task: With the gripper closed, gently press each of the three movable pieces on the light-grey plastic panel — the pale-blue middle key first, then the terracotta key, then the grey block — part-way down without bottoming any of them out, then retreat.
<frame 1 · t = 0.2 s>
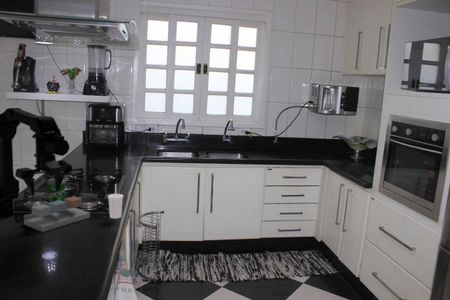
hand: (45, 193, 147), 14 cm above the worktop, fingers open, 9 cm apart
blue key: (57, 206, 158), point 6 cm above the worktop, slide at 0.0 cm
beverage cup: (115, 216, 167), on the worktop
grey block: (41, 210, 152), point 6 cm above the worktop, slide at 0.0 cm
panel: (58, 220, 159), on the worktop
soda can: (56, 205, 177), on the worktop
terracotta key: (73, 202, 164), point 6 cm above the worktop, slide at 0.0 cm
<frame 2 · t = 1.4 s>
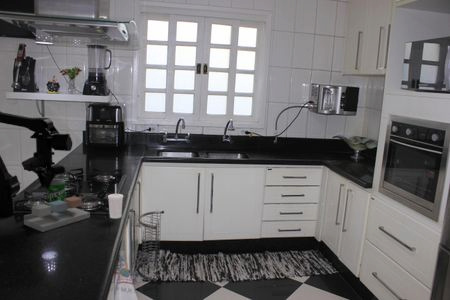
hand: (45, 187, 161), 12 cm above the worktop, fingers closed
nothing on the worktop moved.
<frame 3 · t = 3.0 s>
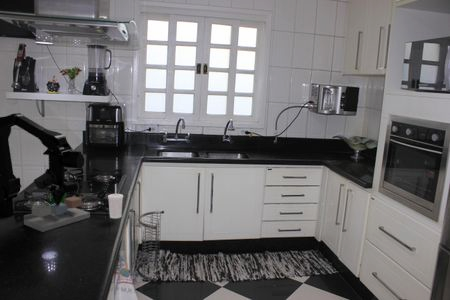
hand: (57, 204, 158), 7 cm above the worktop, fingers closed, pressing on blue key
blue key: (57, 208, 158), point 5 cm above the worktop, slide at 0.9 cm, touching gripper
everything else where it was.
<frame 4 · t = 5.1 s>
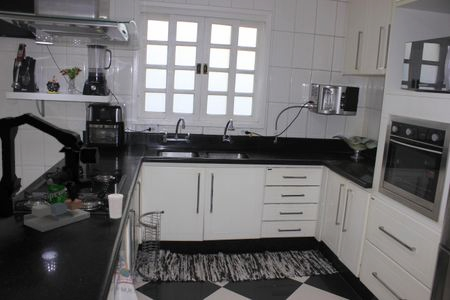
hand: (72, 200, 163), 7 cm above the worktop, fingers closed, pressing on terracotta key
blue key: (57, 208, 158), point 5 cm above the worktop, slide at 1.0 cm
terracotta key: (73, 204, 164), point 5 cm above the worktop, slide at 0.9 cm, touching gripper
everything else where it was.
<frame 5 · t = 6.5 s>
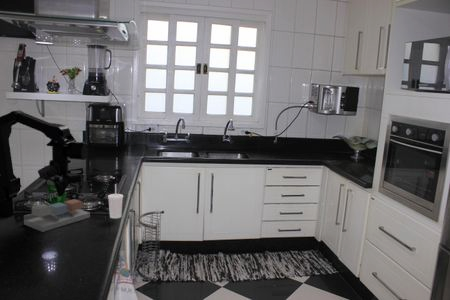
hand: (60, 196, 158), 10 cm above the worktop, fingers closed
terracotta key: (73, 205, 164), point 5 cm above the worktop, slide at 1.2 cm
everything else where it was.
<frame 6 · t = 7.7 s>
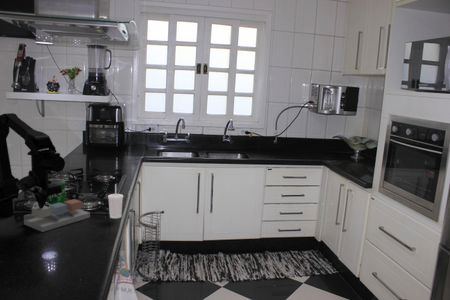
hand: (41, 207, 152), 7 cm above the worktop, fingers closed, pressing on grey block
grey block: (41, 211, 152), point 6 cm above the worktop, slide at 0.5 cm, touching gripper
everything else where it was.
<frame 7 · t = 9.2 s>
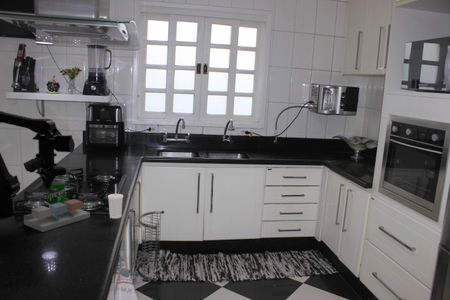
hand: (47, 189, 161), 11 cm above the worktop, fingers closed
grey block: (41, 212, 152), point 5 cm above the worktop, slide at 0.8 cm
everything else where it was.
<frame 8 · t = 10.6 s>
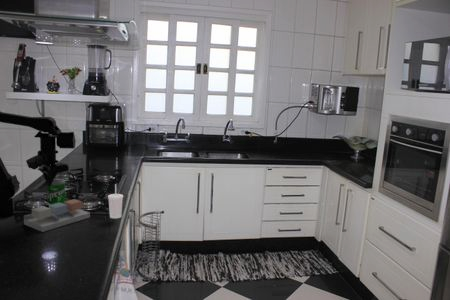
hand: (49, 185, 165), 12 cm above the worktop, fingers closed
nothing on the worktop moved.
at the end: blue key slide at 1.0 cm; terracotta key slide at 1.2 cm; grey block slide at 0.8 cm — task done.
